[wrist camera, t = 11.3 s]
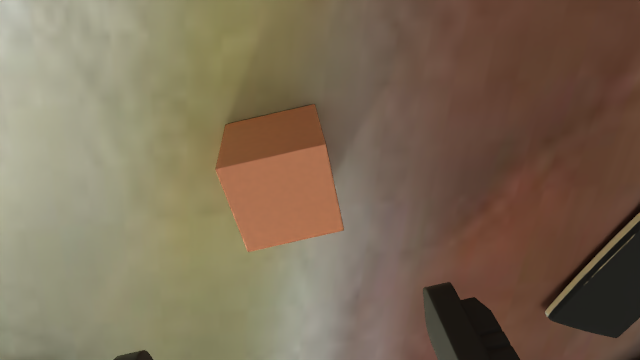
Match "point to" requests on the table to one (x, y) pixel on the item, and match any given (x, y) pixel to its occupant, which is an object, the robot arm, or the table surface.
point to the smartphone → (604, 288)
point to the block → (279, 178)
